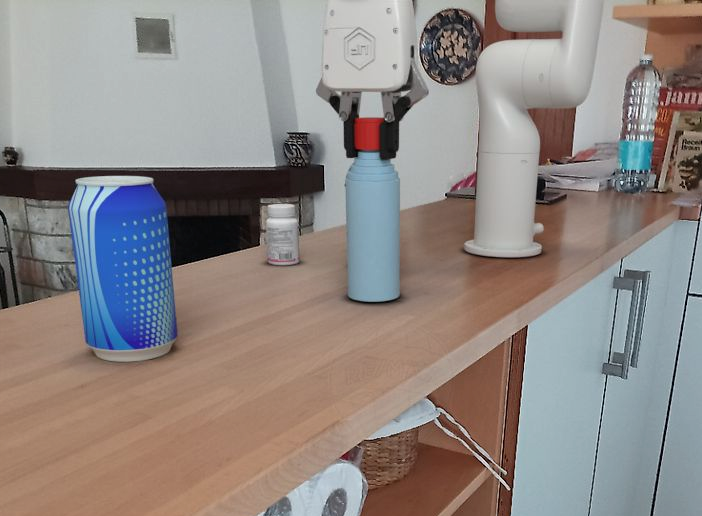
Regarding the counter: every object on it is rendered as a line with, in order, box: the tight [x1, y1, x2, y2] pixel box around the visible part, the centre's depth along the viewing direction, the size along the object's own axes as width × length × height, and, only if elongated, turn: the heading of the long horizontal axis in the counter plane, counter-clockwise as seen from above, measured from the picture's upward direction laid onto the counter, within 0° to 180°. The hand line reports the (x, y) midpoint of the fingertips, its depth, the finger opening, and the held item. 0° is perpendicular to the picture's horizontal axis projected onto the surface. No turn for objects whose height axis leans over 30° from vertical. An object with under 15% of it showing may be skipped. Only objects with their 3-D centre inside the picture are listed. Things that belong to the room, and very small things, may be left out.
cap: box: [354, 116, 384, 150], centre depth 89 cm, size 4×4×3 cm
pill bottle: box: [265, 203, 301, 266], centre depth 115 cm, size 5×5×8 cm
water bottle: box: [344, 150, 401, 303], centre depth 93 cm, size 6×6×20 cm
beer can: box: [67, 175, 179, 363], centre depth 72 cm, size 8×8×16 cm
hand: (371, 156), depth 90 cm, fingers closed on cap, 3 cm apart
